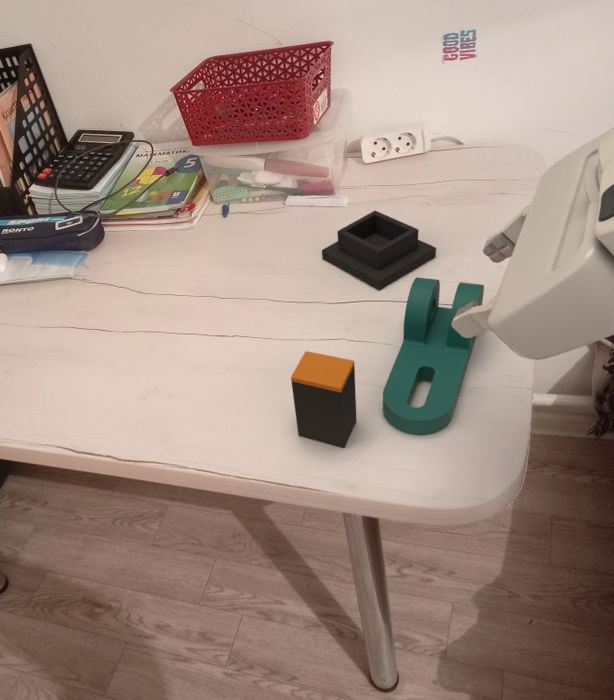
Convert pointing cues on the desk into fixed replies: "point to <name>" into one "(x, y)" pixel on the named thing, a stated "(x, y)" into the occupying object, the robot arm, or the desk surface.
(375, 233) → the square base socket
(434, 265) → the desk surface
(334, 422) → the upright block
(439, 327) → the bracket
